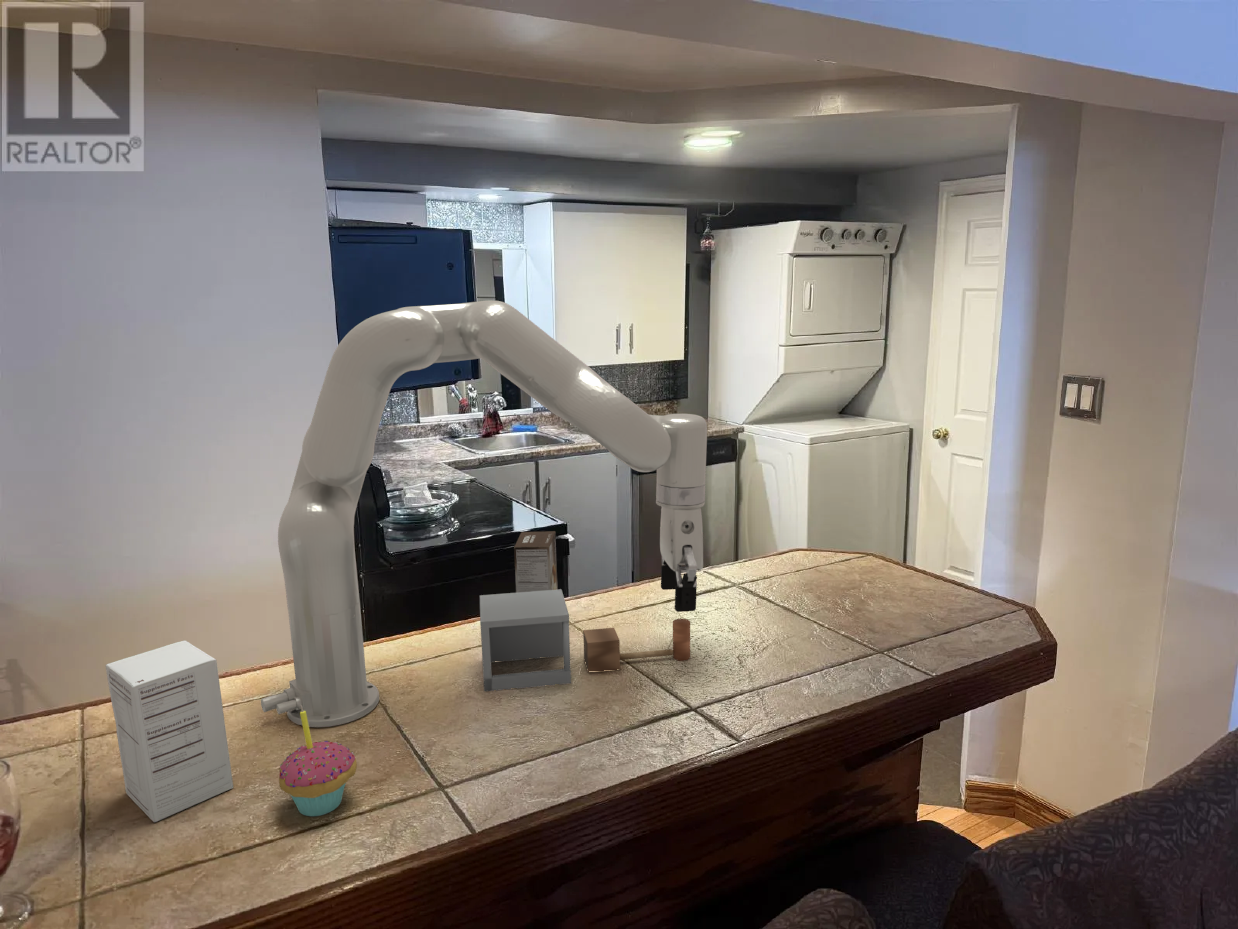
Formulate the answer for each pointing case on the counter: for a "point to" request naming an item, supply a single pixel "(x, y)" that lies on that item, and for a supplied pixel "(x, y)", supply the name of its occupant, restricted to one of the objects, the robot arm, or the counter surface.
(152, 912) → the counter surface
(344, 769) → the cupcake
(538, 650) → the grey open storage bin
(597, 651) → the block
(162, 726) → the supplement box
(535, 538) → the coffee box
